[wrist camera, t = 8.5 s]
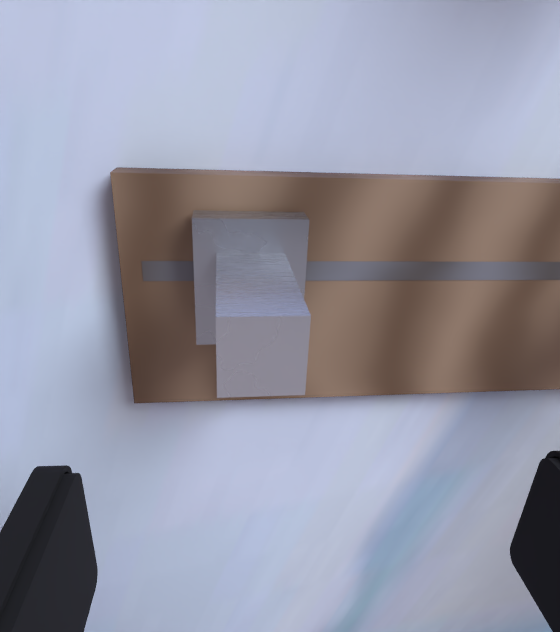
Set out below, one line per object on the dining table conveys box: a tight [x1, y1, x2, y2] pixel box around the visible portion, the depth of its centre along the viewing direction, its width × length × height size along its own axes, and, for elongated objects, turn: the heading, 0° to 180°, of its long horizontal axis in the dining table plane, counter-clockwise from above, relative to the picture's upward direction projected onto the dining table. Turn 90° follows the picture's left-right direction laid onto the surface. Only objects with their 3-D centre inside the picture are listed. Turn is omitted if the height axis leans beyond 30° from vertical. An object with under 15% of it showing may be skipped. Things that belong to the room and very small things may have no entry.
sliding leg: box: [192, 210, 311, 398], centre depth 20 cm, size 5×9×8 cm, turn 178°
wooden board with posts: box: [110, 168, 560, 403], centre depth 22 cm, size 30×12×10 cm, turn 88°
